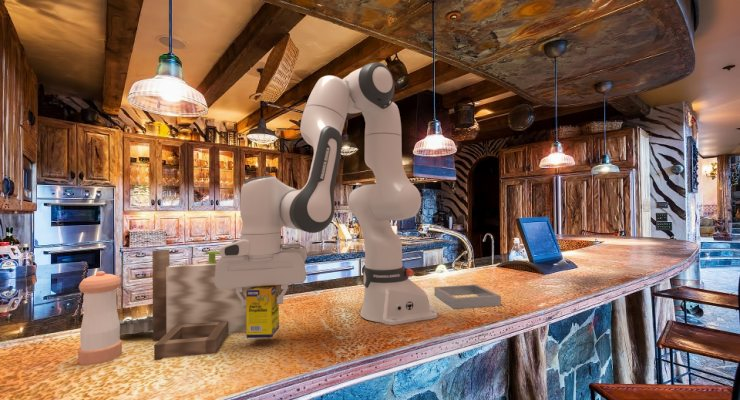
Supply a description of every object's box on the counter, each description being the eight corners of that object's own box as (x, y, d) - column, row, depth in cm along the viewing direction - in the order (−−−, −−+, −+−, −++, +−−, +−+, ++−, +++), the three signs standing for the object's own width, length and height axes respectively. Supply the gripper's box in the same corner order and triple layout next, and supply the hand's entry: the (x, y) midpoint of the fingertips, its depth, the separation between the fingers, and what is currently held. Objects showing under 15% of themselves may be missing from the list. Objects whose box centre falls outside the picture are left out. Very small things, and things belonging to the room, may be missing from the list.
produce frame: (476, 292, 123) (475, 284, 123) (500, 305, 107) (500, 295, 107) (434, 295, 120) (434, 287, 120) (453, 309, 104) (453, 299, 104)
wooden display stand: (270, 328, 90) (269, 245, 90) (263, 354, 74) (262, 254, 75) (156, 337, 85) (156, 249, 85) (123, 367, 69) (122, 259, 70)
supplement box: (272, 338, 75) (271, 289, 76) (245, 338, 76) (244, 289, 76) (279, 328, 81) (278, 282, 81) (255, 328, 81) (254, 283, 82)
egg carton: (168, 326, 89) (168, 310, 90) (151, 332, 82) (151, 314, 83) (127, 330, 89) (127, 314, 89) (106, 337, 81) (106, 319, 82)
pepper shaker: (72, 372, 67) (71, 276, 67) (85, 357, 74) (85, 270, 74) (116, 365, 70) (116, 272, 70) (125, 351, 77) (125, 267, 77)
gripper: (306, 241, 84) (308, 297, 84) (218, 245, 80) (220, 304, 80) (306, 244, 77) (308, 304, 77) (211, 249, 74) (213, 312, 74)
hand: (262, 304), depth 78 cm, fingers closed on supplement box, 6 cm apart
